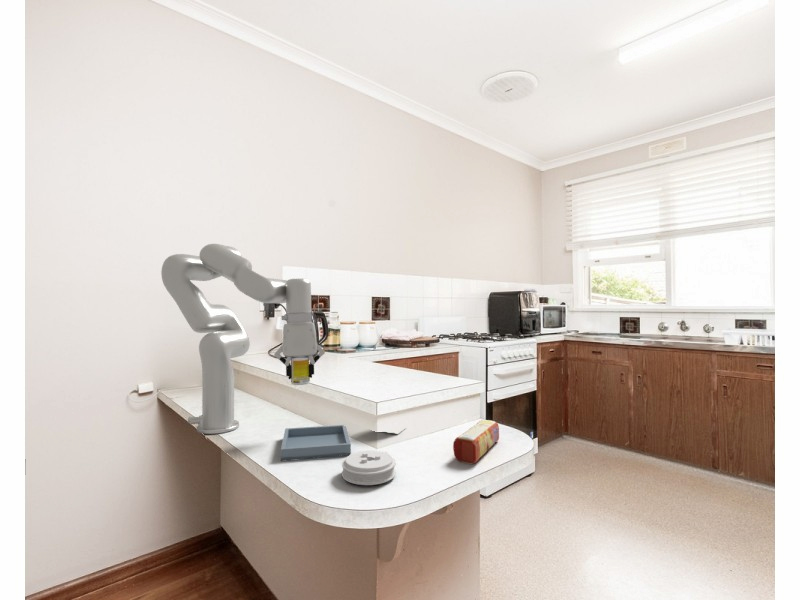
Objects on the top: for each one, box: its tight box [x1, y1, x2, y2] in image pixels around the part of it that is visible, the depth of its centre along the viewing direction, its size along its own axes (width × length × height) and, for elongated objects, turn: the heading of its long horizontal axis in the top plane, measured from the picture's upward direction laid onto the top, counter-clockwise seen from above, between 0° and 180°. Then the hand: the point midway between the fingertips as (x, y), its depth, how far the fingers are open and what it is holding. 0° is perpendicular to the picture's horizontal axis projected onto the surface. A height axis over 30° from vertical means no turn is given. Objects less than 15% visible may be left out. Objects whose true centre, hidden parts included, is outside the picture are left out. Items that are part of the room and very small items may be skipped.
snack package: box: [452, 419, 500, 465], centre depth 113 cm, size 21×7×7 cm, turn 150°
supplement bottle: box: [290, 356, 311, 386], centre depth 125 cm, size 6×6×10 cm
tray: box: [280, 424, 352, 461], centre depth 116 cm, size 18×18×3 cm
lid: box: [341, 450, 397, 486], centre depth 96 cm, size 13×13×5 cm
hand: (300, 377), depth 125 cm, fingers closed on supplement bottle, 5 cm apart
